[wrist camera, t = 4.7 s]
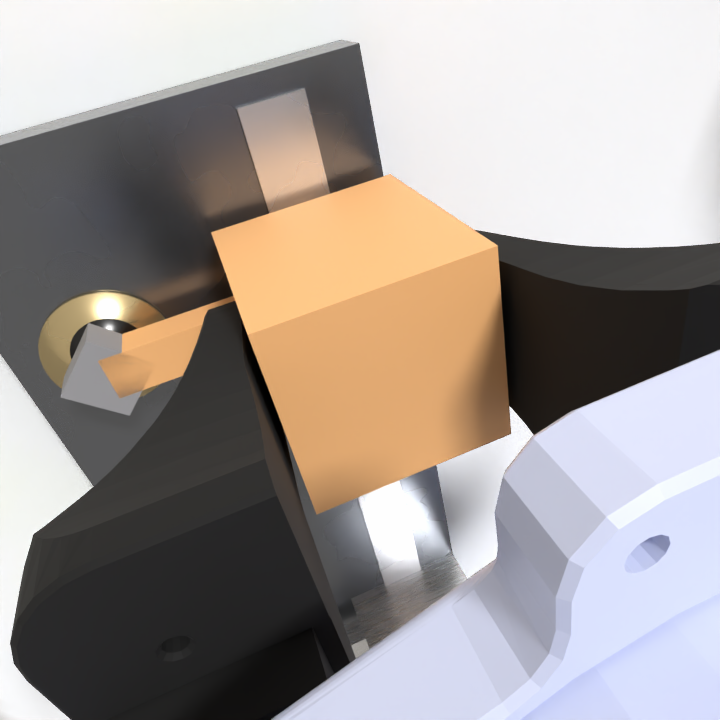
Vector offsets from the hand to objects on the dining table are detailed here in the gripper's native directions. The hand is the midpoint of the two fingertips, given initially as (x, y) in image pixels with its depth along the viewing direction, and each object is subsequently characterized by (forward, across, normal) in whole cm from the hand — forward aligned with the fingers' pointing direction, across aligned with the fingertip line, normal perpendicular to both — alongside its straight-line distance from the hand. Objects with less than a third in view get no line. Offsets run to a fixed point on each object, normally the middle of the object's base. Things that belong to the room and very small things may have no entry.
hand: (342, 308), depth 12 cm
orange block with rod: (+1, +2, 0) cm, 2 cm away
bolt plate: (+3, +2, +6) cm, 7 cm away
